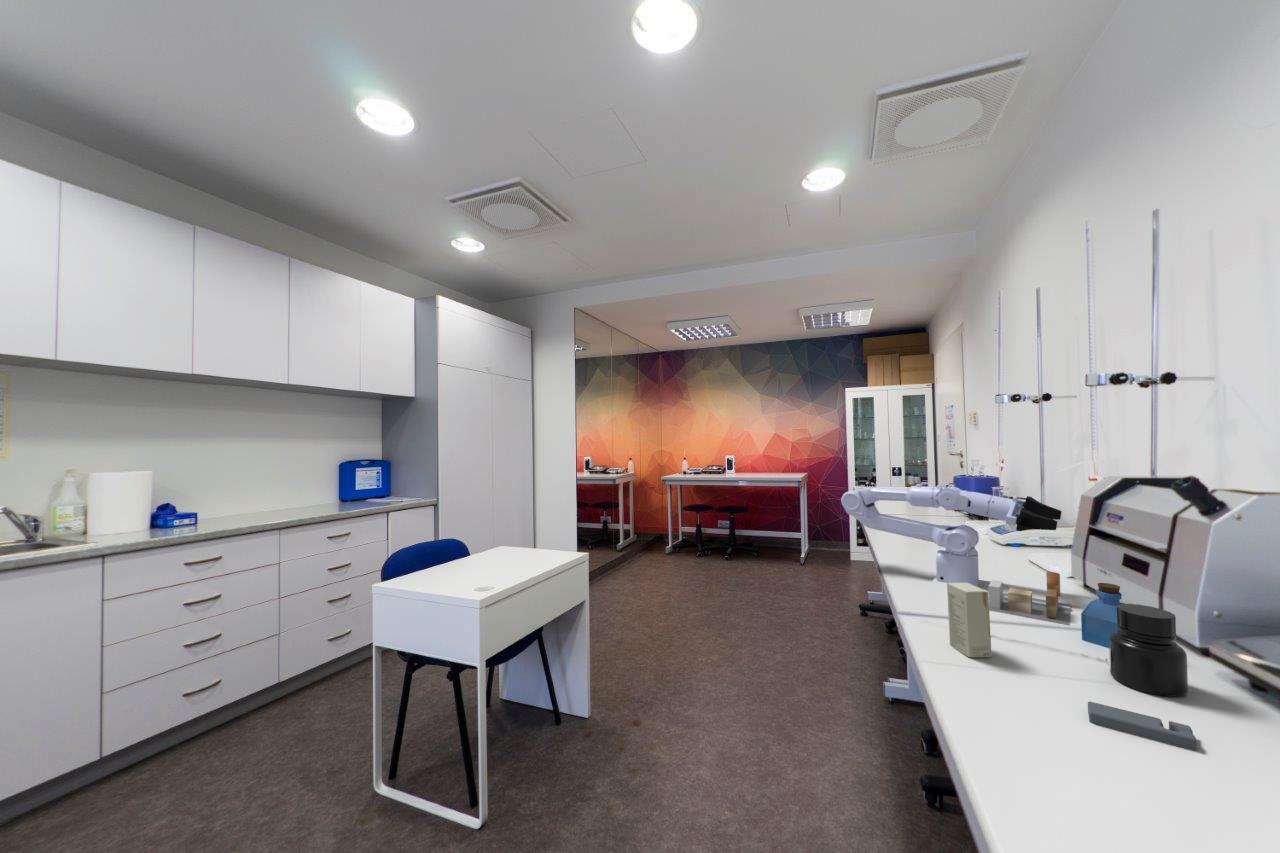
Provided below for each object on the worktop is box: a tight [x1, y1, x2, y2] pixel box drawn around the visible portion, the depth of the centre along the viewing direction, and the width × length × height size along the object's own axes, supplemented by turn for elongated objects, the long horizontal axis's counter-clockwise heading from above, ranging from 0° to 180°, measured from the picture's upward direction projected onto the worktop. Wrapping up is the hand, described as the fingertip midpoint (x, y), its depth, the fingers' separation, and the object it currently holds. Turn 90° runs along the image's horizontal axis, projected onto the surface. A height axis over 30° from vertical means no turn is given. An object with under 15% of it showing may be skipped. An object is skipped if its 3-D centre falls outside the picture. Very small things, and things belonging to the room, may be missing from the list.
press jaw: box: [1045, 571, 1061, 618], centre depth 111 cm, size 2×13×7 cm, turn 138°
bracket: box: [1087, 701, 1198, 752], centre depth 69 cm, size 4×10×2 cm, turn 50°
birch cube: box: [1007, 587, 1033, 614], centre depth 112 cm, size 4×4×4 cm
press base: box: [988, 579, 1072, 627], centre depth 113 cm, size 14×16×6 cm
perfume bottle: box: [1080, 582, 1126, 649], centre depth 94 cm, size 6×6×12 cm
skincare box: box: [946, 583, 993, 658], centre depth 94 cm, size 6×4×12 cm
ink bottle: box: [1108, 603, 1189, 697], centre depth 81 cm, size 10×9×12 cm
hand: (1058, 520), depth 118 cm, fingers open, 7 cm apart
